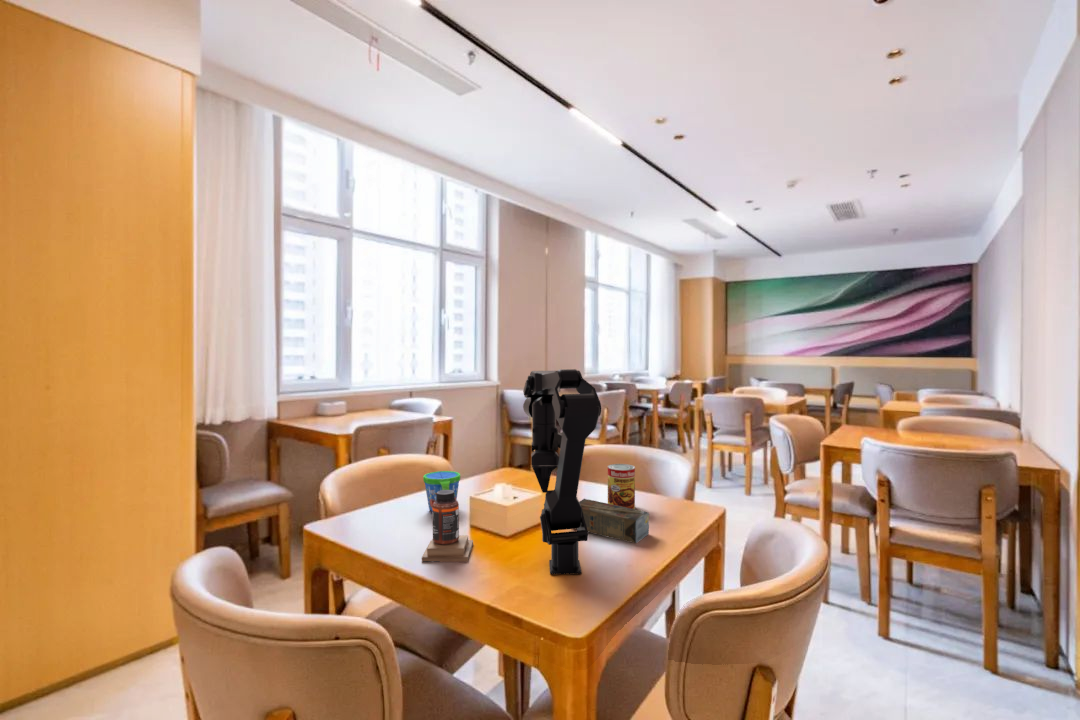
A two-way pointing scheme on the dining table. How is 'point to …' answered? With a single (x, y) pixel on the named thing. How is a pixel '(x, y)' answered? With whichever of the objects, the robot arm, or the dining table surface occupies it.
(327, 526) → the dining table surface
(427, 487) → the snack cup
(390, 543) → the dining table surface
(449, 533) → the supplement bottle
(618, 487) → the canned food
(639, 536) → the beverage carton
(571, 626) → the dining table surface
